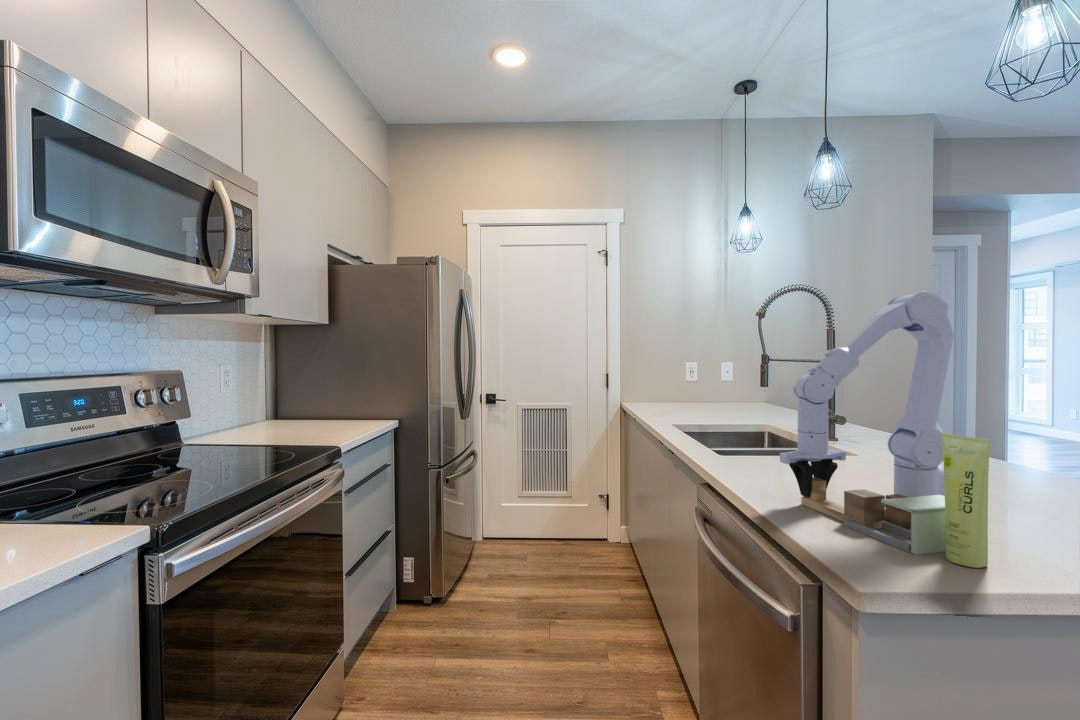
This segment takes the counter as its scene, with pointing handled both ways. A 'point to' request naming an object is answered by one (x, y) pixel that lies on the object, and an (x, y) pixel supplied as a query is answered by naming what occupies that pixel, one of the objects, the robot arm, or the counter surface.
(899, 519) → the block brown
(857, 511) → the cube
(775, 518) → the counter surface
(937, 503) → the shelter
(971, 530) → the tube
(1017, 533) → the counter surface
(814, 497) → the tan stepped wooden piece
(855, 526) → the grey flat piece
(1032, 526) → the counter surface
